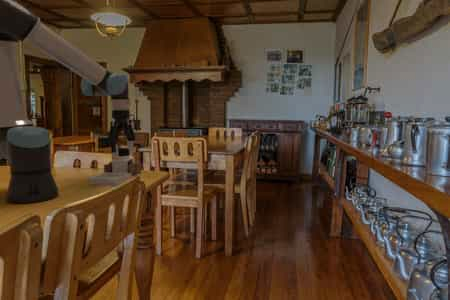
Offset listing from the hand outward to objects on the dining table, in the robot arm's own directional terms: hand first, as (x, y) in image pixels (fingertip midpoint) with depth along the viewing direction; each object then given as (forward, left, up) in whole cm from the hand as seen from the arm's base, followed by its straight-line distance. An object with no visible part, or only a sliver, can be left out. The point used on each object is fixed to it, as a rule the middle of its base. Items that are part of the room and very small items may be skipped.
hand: (123, 157), depth 146 cm
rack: (0, 0, -8) cm, 8 cm away
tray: (-14, -2, -8) cm, 16 cm away
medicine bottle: (0, 0, -8) cm, 8 cm away
